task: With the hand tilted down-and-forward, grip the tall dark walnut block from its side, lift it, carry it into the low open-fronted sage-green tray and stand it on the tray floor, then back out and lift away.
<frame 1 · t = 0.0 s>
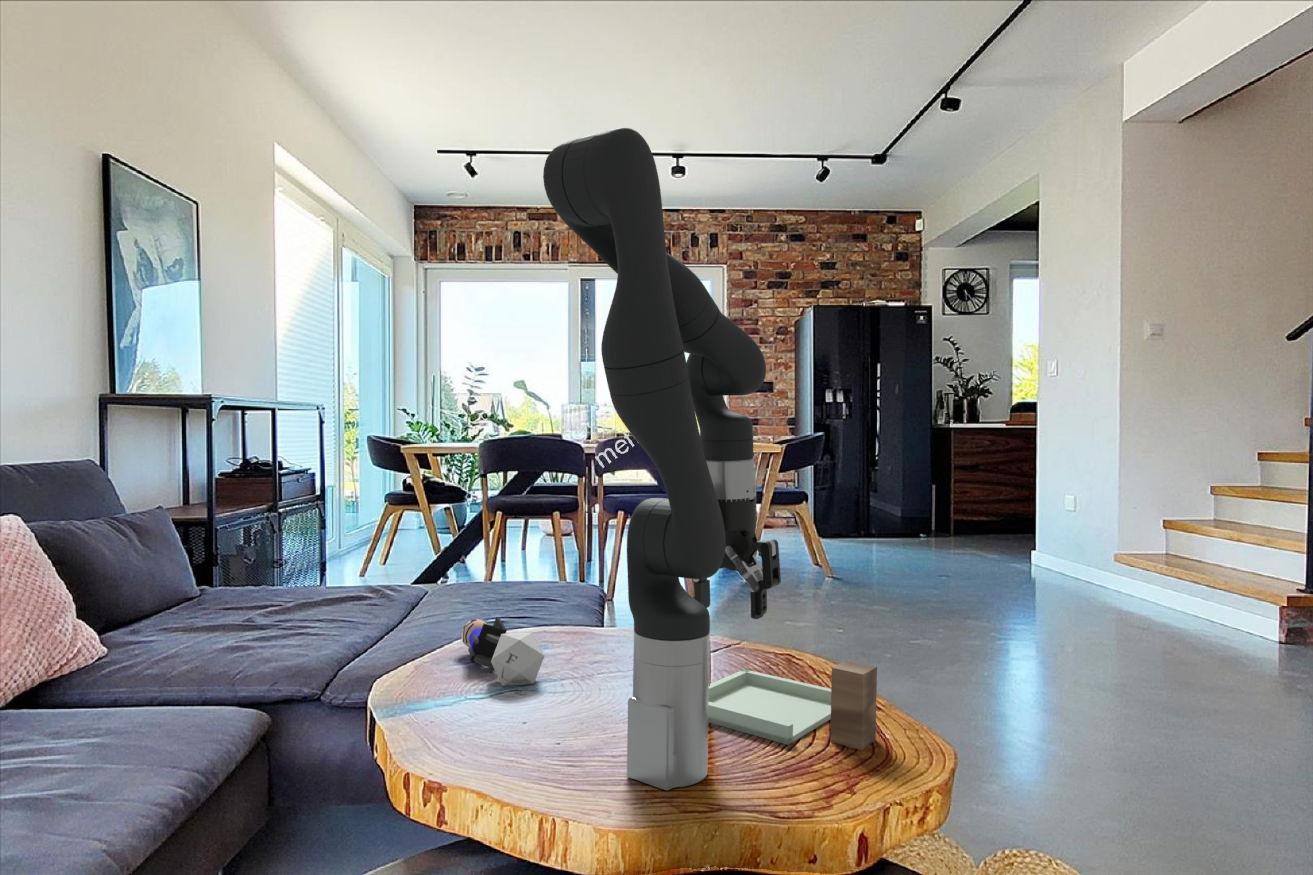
hand: (730, 612, 111), 17 cm above the table, tool pointing down, fingers open, 8 cm apart
character figurine: (483, 663, 146), on the table
tray: (763, 711, 122), on the table
die: (517, 683, 135), on the table
block: (853, 740, 112), on the table
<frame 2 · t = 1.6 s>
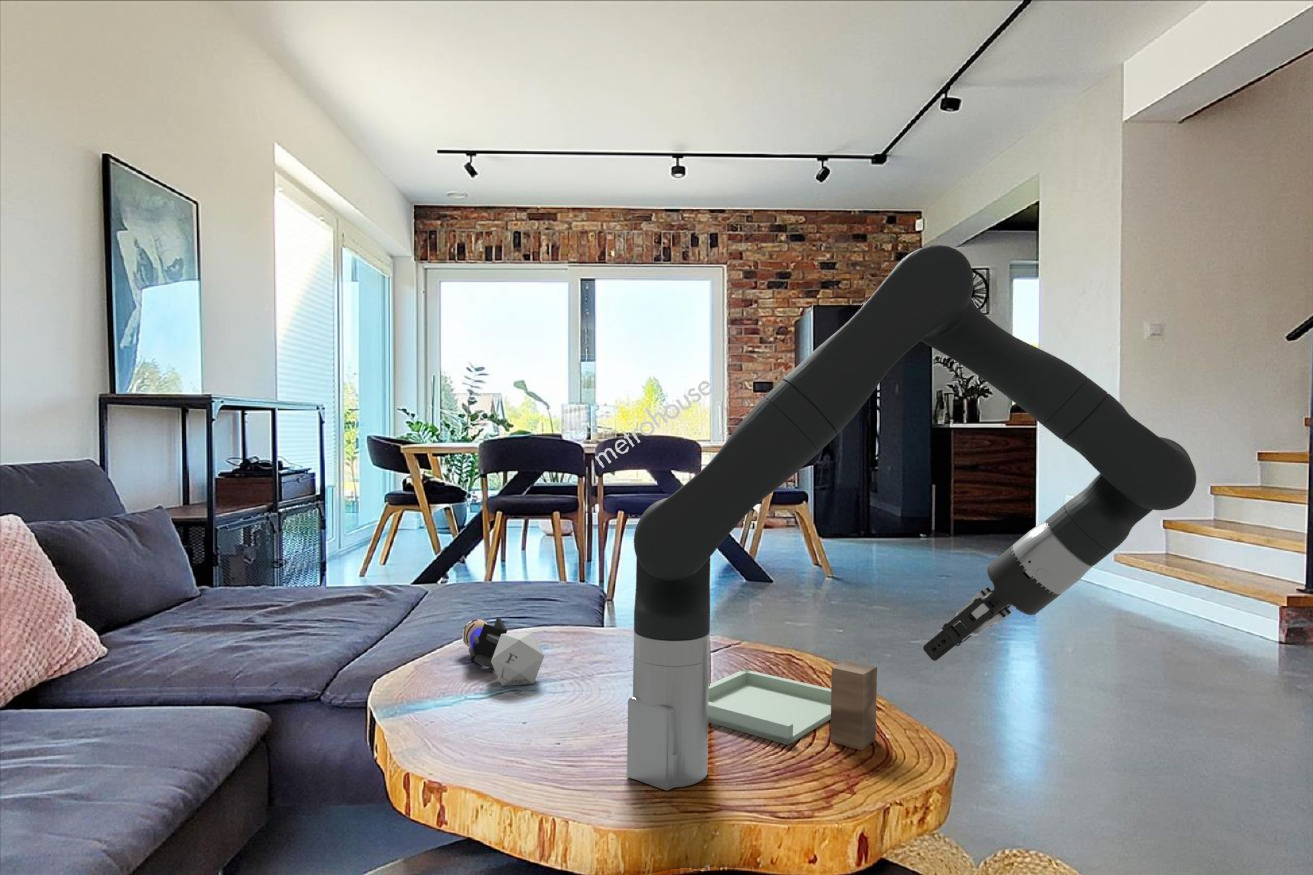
hand: (940, 646, 104), 15 cm above the table, tool tilted 45°, fingers open, 8 cm apart
nothing on the table moved.
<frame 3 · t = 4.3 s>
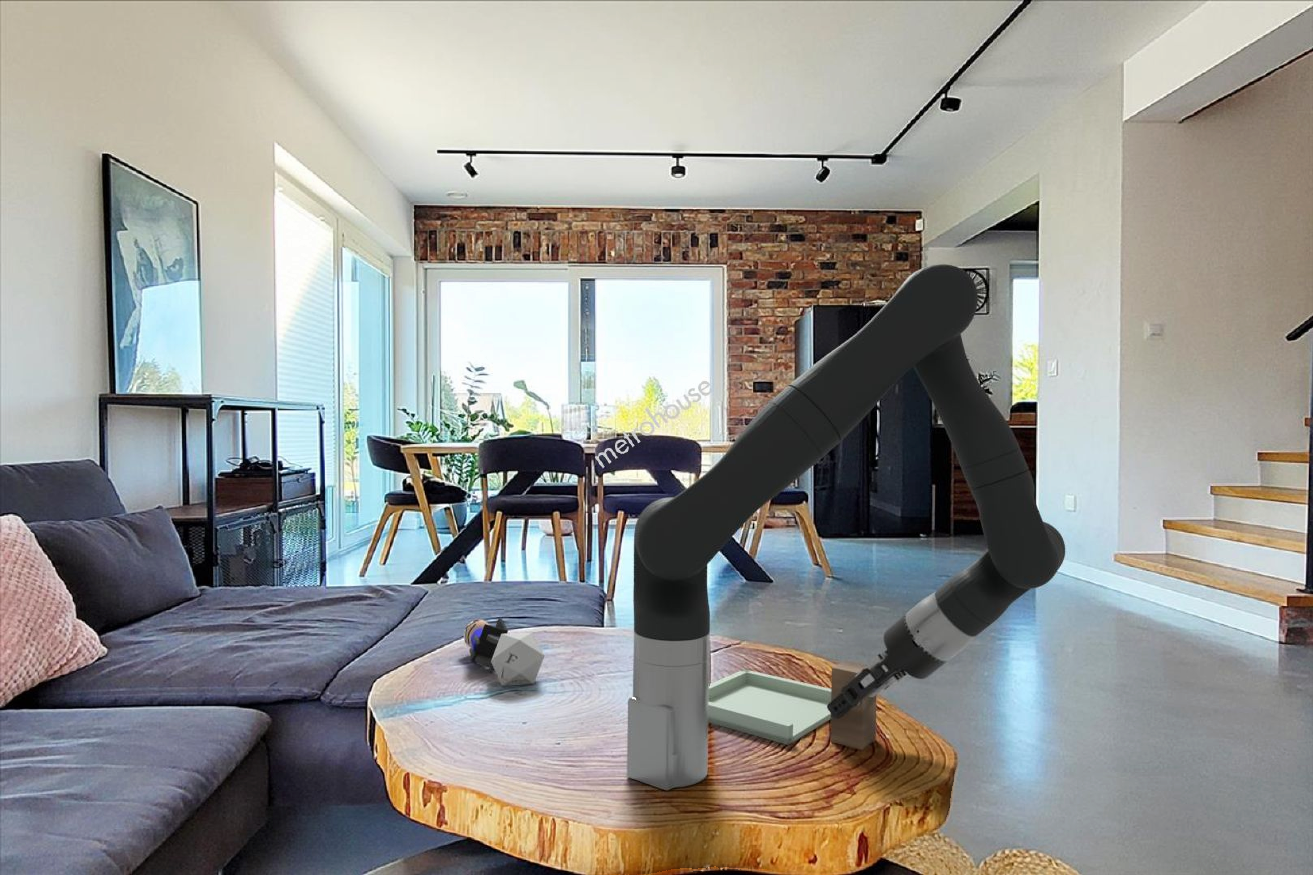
hand: (840, 707, 113), 4 cm above the table, tool tilted 45°, fingers closed on block, 4 cm apart
block: (853, 740, 112), on the table, touching gripper
everything else where it was.
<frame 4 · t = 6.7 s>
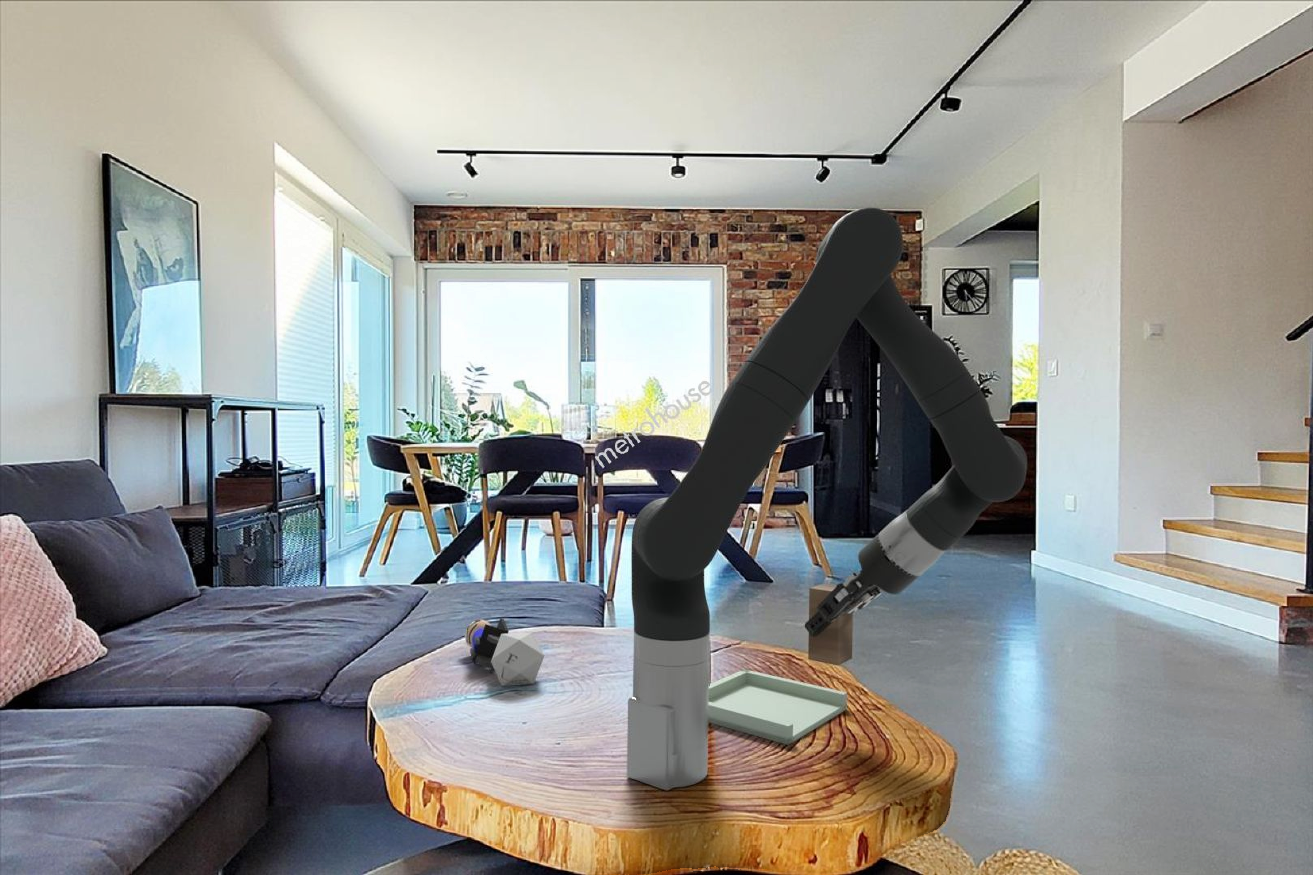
hand: (818, 627, 117), 14 cm above the table, tool tilted 45°, fingers closed on block, 4 cm apart
block: (830, 658, 116), point 10 cm above the table, touching gripper
everything else where it was.
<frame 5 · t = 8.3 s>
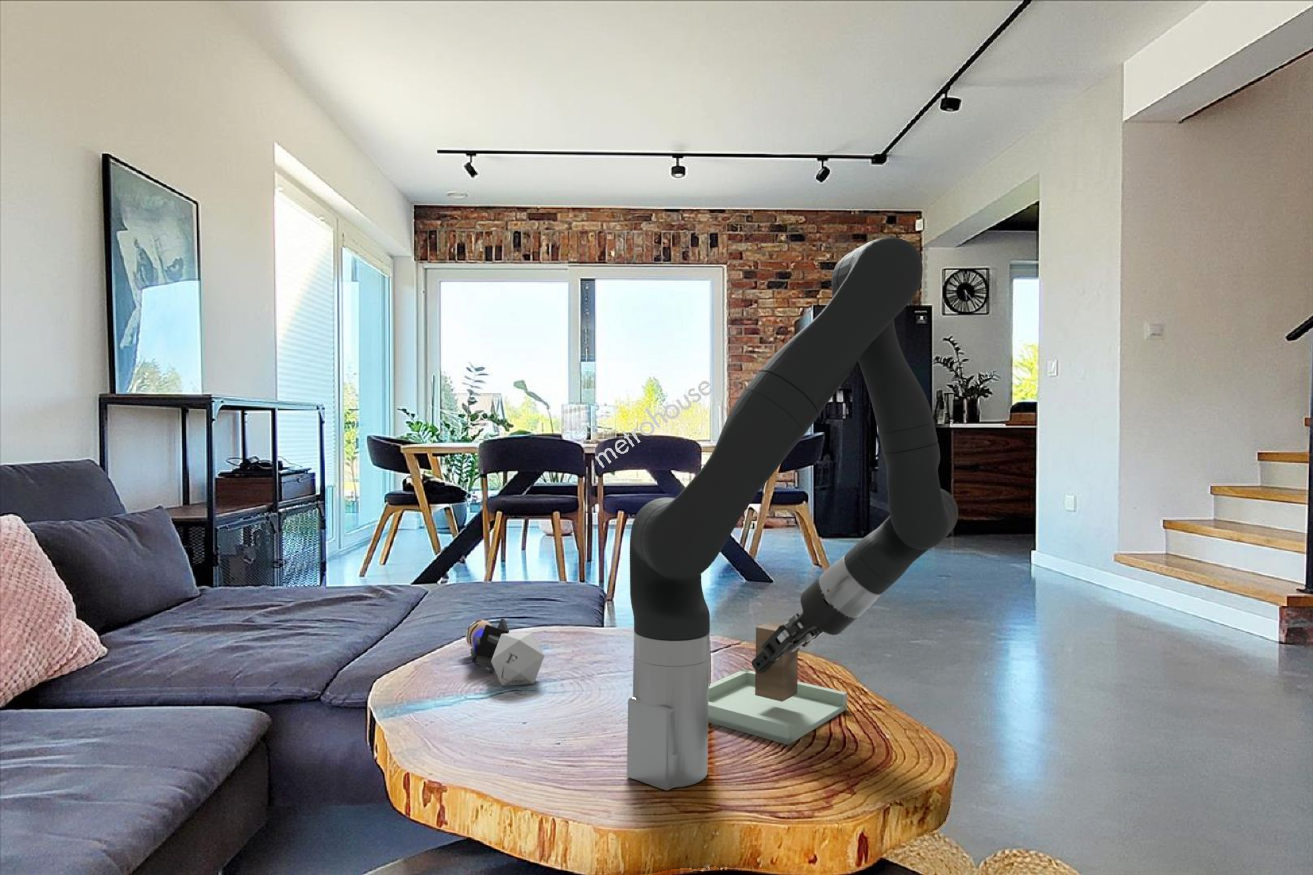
hand: (765, 663, 122), 7 cm above the table, tool tilted 45°, fingers closed on block, 4 cm apart
block: (776, 694, 121), point 3 cm above the table, touching gripper
everything else where it was.
when the fingers open (6 cm above the table, at t = 9.4 s): block stays where it is, resting on tray.
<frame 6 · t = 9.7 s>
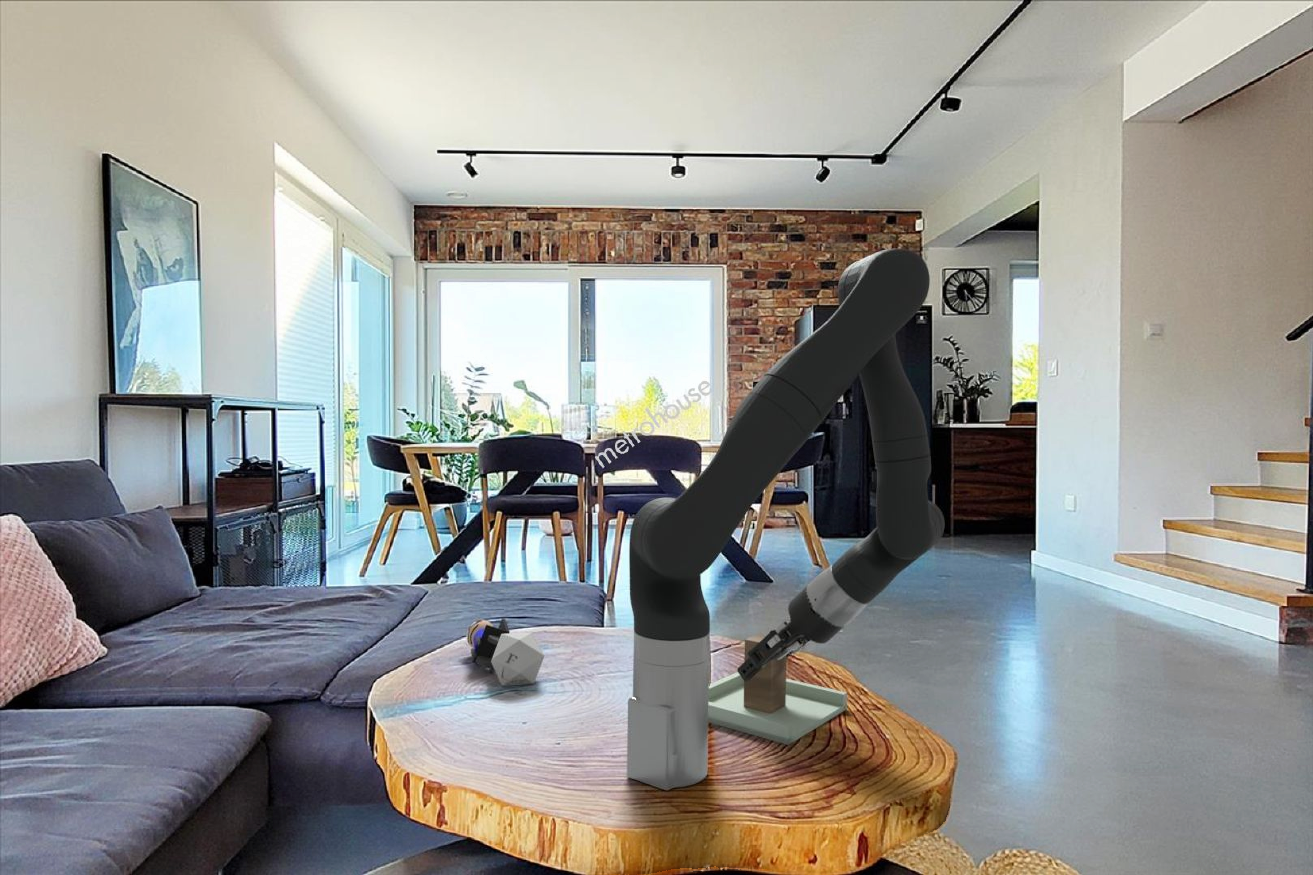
hand: (756, 669, 123), 6 cm above the table, tool tilted 45°, fingers open, 7 cm apart
block: (764, 706, 122), point 1 cm above the table, touching tray
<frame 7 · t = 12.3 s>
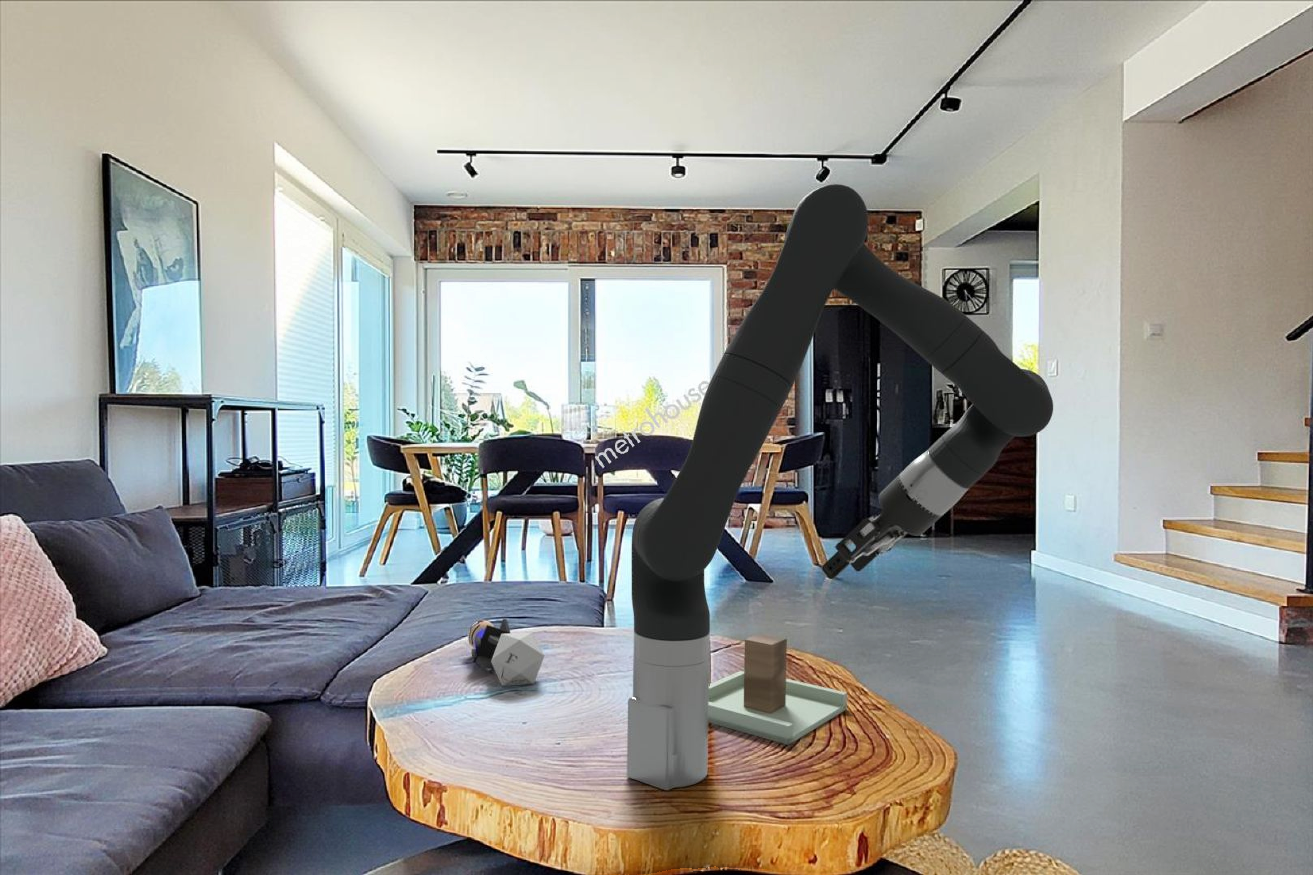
hand: (840, 570, 115), 22 cm above the table, tool tilted 45°, fingers open, 8 cm apart
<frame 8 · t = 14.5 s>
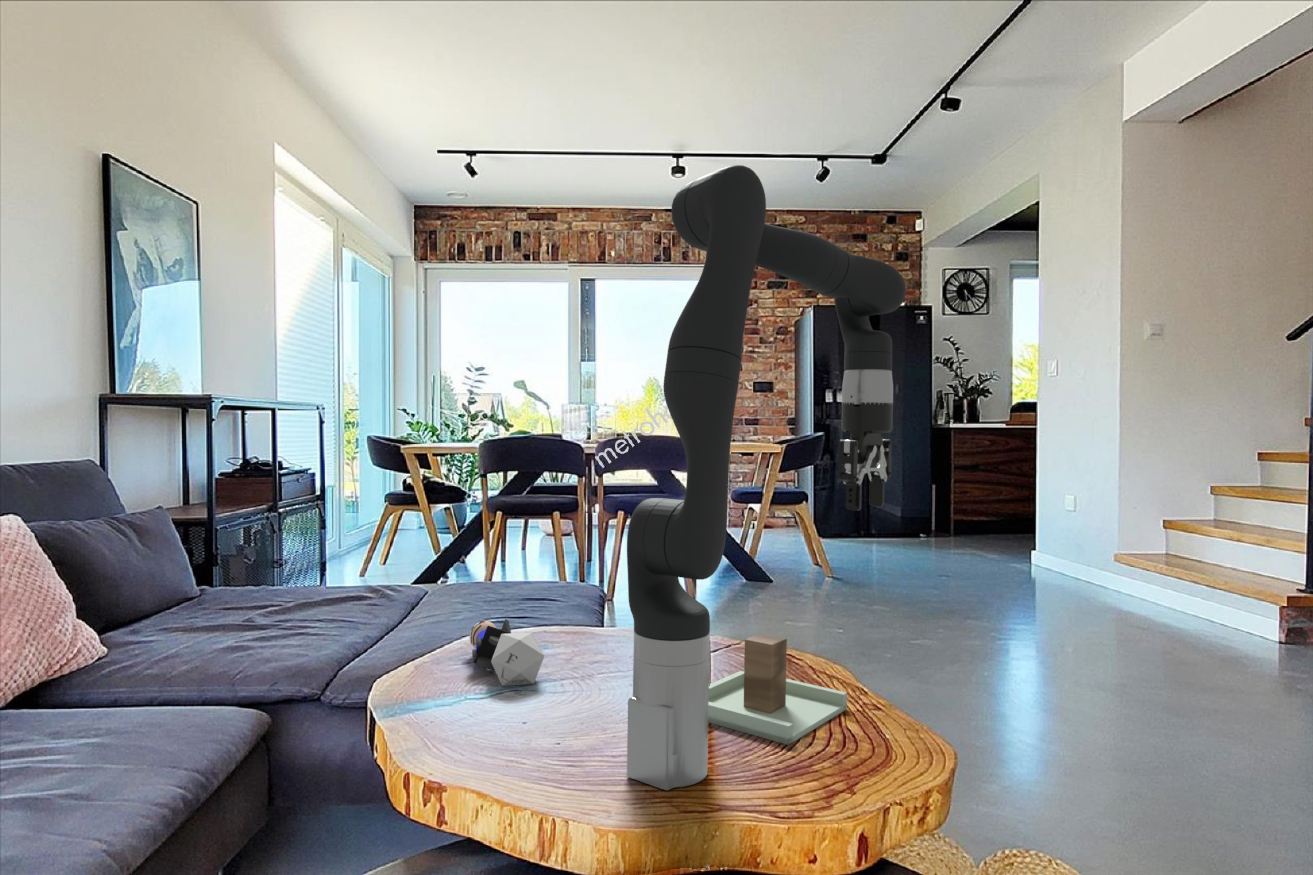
hand: (865, 507, 125), 30 cm above the table, tool pointing down, fingers open, 8 cm apart
at the end: block inside the target area on the tray (0.1 cm from its centre), point 0.8 cm above the tray's base; block tilted 0°; the gripper is holding nothing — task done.
